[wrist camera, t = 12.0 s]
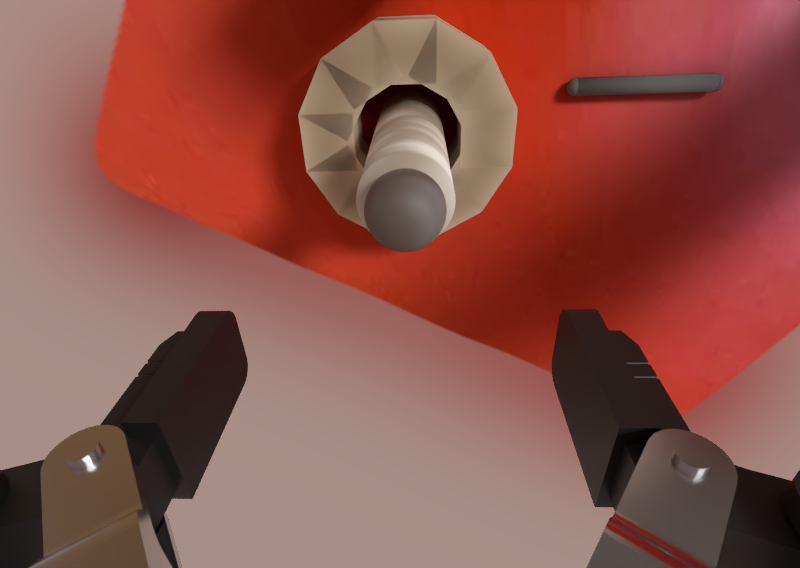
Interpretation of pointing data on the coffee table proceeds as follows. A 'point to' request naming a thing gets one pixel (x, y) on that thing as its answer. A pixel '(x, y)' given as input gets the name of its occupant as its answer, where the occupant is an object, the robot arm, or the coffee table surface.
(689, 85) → the dark grey rod
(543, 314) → the coffee table surface
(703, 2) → the coffee table surface
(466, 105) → the bead
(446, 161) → the grey tipped beige rod
